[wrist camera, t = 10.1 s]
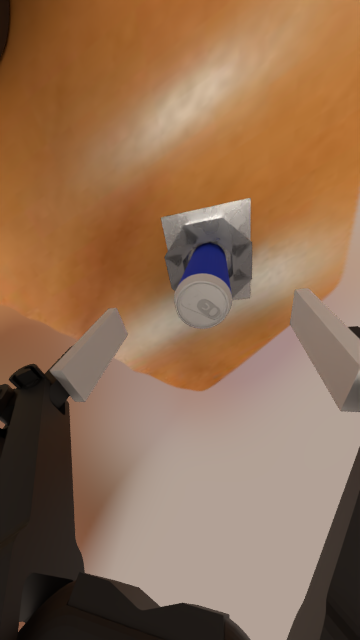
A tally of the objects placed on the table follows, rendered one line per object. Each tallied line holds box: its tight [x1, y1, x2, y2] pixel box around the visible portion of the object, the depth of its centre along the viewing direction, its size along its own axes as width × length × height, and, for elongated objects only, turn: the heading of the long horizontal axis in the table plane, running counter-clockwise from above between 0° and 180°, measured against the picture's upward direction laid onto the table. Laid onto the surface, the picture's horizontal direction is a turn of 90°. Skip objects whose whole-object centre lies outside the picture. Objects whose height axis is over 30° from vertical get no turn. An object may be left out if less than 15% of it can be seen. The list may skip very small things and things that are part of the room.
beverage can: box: [174, 243, 232, 329], centre depth 22 cm, size 5×5×15 cm
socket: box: [161, 198, 252, 300], centre depth 27 cm, size 14×12×4 cm
